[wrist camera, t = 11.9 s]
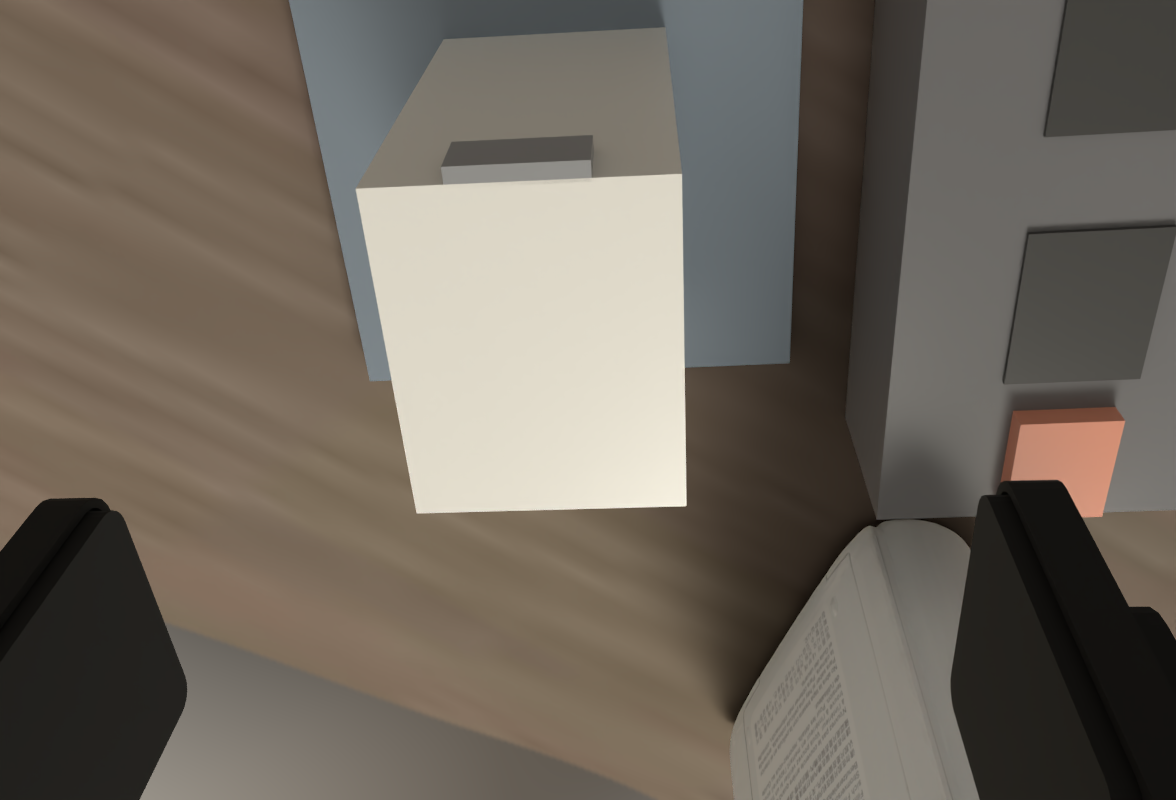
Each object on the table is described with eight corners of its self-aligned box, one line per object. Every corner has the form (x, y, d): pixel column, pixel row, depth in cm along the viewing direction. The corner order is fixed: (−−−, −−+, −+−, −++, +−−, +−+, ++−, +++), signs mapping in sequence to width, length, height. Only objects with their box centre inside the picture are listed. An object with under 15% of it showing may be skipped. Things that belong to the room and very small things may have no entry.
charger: (664, 13, 21) (681, 155, 14) (670, 283, 24) (686, 506, 17) (441, 26, 21) (351, 171, 14) (476, 291, 24) (416, 513, 17)
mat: (802, -110, 20) (807, -106, 19) (786, 350, 25) (789, 362, 25) (283, -72, 21) (274, -68, 20) (375, 368, 26) (369, 381, 25)
